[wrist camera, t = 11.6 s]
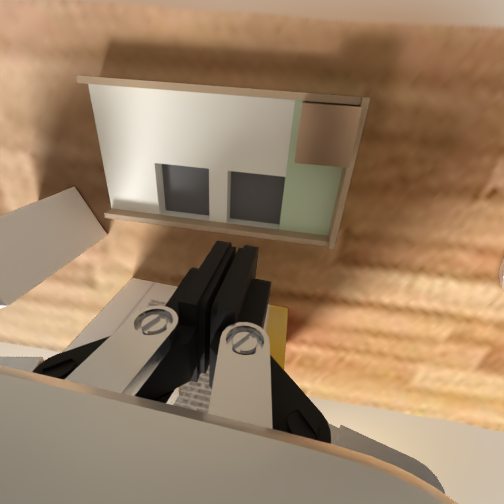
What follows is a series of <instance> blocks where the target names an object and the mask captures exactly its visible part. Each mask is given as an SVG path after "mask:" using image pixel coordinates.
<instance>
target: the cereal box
mask: <svg viewBox="0 0 504 504" xmlns="http://www.w3.org/2000/svg"><path fill="white" fill-rule="evenodd" d="M177 288H178V287H177V286H172V285H167V284H162V283H157V282H151V281H146V280H141V279H136V278H131V279H130V281H129V282H128V283H127V284H126V285H125V286H124V287H123V288H122V289H121V290H120V291H119V292H118V293H117V294H116V295H115V297H114V298H113V299H112V300H111V301H110V302H109V303H108V304H107V305H106V306H105V307H104V308H103V309H102V310H101V312H100V313H99V314H98V315H97V316H96V317H95V318H94V319H93V320H92V321H91V322H90V323H89V324H88V325H87V326H86V328H85V329H84V330H83V331H82V332H81V333H80V334H79V335H78V336H77V337H76V338H75V339H74V340H73V341H72V342H71V344H70V345H69V346H68V347H67V348H66V349H65V350H64V351H63V352H65V351H68V350H71V349H74V348H77V347H80V346H82V345H85V344H88V343H91V342H94V341H97V340H100V339H103V338H105V337H108V336H111V335H112V334H113V333H114V332H116V331H117V330H118V329H119V328H120V327H121V326H122V325H123V324H124V323H125V322H126V321H127V320H128V319H129V318H131V317H132V316H133V315H134V314H135V313H136V312H138V311H139V310H141V309H144V308H146V307H150V306H165V305H166V303H167V302H168V301H169V299H170V298H171V296H172V295H173V293H174V292H175V290H176V289H177ZM287 318H288V308H285V307H280V306H275V305H270V304H268V307H267V313H266V318H265V323H264V328H263V330H265V332H266V333H267V335H268V337H269V341H270V355H271V356H272V357H273V358H274V359H275V361H276V362H277V363H278V364H279V365H280V366H281V367H282V369H283V370H284V362H285V348H286V333H287ZM209 367H210V364H209ZM209 367H208V370H207V372H206V374H203V373H201V374H200V376H199V379H198V382H193V381H190V382H188V383H186V384H184V385H182V389H181V392H180V394H179V396H178V398H177V399H176V401H175V403H174V404H173V405H174V406H179V407H183V408H187V409H191V410H196V411H200V412H204V413H208V410H209V404H210V398H211V392H212V390H211V388H210V386H209Z"/></svg>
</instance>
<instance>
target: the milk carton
mask: <svg viewBox="0 0 504 504" xmlns="http://www.w3.org/2000/svg"><path fill="white" fill-rule="evenodd" d="M106 236H107V234H106V232H105V231H104V229H103V228H102V226H101V225H100V223H99V222H98V220H97V219H96V217H95V216H94V214H93V213H92V211H91V210H90V208H89V207H88V205H87V204H86V202H85V201H84V200H83V198H82V197H81V195H80V194H79V192H78V191H77V189H76V188H75V187H72V188H69V189H67V190H64V191H62V192H59V193H57V194H54V195H52V196H49V197H47V198H44V199H42V200H39V201H36V202H34V203H31V204H29V205H26V206H24V207H21V208H19V209H16V210H14V211H11V212H9V213H6V214H4V215H1V216H0V309H1V308H4V307H7V306H9V305H10V304H12V303H13V302H15V301H16V300H17V299H19V298H20V297H22V296H23V295H24V294H26V293H27V292H29V291H30V290H31V289H33V288H34V287H36V286H37V285H38V284H40V283H41V282H43V281H44V280H45V279H47V278H48V277H50V276H51V275H52V274H54V273H55V272H57V271H58V270H59V269H61V268H62V267H64V266H65V265H66V264H68V263H69V262H71V261H72V260H73V259H75V258H76V257H78V256H79V255H80V254H82V253H83V252H85V251H86V250H87V249H89V248H90V247H92V246H93V245H94V244H96V243H97V242H99V241H100V240H101V239H103V238H104V237H106Z"/></svg>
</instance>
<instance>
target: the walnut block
mask: <svg viewBox="0 0 504 504" xmlns="http://www.w3.org/2000/svg"><path fill="white" fill-rule="evenodd" d="M361 111H362V107H358V106H351V105H337V104H323V103H309V102H302V109H301V116H300V124H299V132H298V139H297V147H296V155H295V163H301V164H311V165H322V166H333V167H344V168H349V164H350V160H351V155H352V151H353V147H354V142H355V138H356V133H357V129H358V124H359V120H360V115H361Z"/></svg>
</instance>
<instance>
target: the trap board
mask: <svg viewBox="0 0 504 504" xmlns="http://www.w3.org/2000/svg"><path fill="white" fill-rule="evenodd" d="M76 80H77V83H84V84H88V87H89V92H90V97H91V103H92V108H93V113H94V118H95V124H96V129H97V134H98V139H99V145H100V150H101V155H102V160H103V166H104V171H105V176H106V181H107V187H108V192H109V197H110V202H111V208H112V209H110V210H108V211H107V212H105V213H104V215H105V218H110V219H117V220H125V221H133V222H140V223H148V224H156V225H163V226H171V227H179V228H186V229H194V230H202V231H209V232H217V233H225V234H232V235H240V236H248V237H255V238H263V239H271V240H278V241H286V242H294V243H301V244H309V245H317V246H324V247H328V249H331V250H334V248H335V244H336V239H337V235H338V231H339V227H340V223H341V219H342V215H343V210H344V206H345V202H346V198H347V194H348V190H349V186H350V181H351V177H352V173H353V169H354V165H355V161H356V156H357V152H358V148H359V144H360V140H361V136H362V132H363V127H364V123H365V119H366V115H367V111H368V107H369V103H370V98H371V97H357V96H344V95H330V94H317V93H304V92H291V91H277V90H264V89H251V88H237V87H224V86H211V85H198V84H184V83H171V82H158V81H144V80H131V79H118V78H104V77H91V76H78V75H76ZM302 102H309V103H323V104H337V105H351V106H358V107H362V111H361V115H360V120H359V124H358V129H357V133H356V138H355V142H354V147H353V151H352V155H351V160H350V164H349V168H344V167H333V166H322V165H311V164H301V163H295V155H296V147H297V139H298V132H299V124H300V116H301V109H302Z"/></svg>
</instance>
